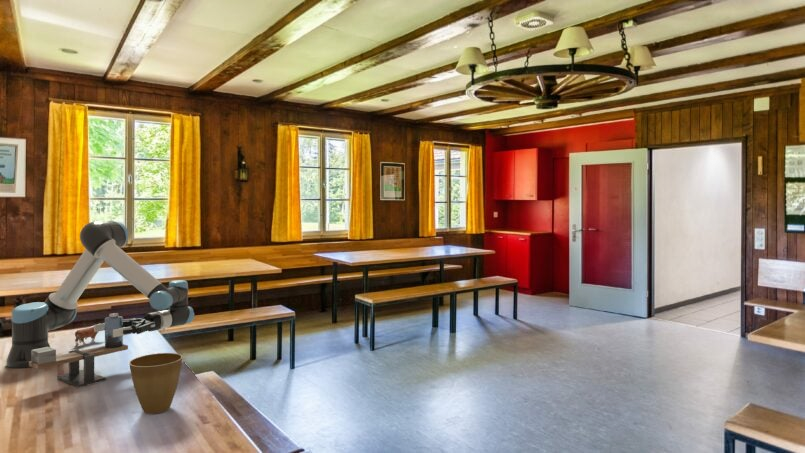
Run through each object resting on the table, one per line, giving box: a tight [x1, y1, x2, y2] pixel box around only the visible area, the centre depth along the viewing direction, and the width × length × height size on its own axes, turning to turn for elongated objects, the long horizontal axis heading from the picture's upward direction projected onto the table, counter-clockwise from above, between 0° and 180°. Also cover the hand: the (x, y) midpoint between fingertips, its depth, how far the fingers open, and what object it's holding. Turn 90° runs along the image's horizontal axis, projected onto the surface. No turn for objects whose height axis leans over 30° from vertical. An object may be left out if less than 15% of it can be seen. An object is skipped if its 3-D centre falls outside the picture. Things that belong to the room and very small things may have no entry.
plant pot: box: [128, 352, 183, 415], centre depth 153 cm, size 15×15×16 cm
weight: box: [104, 312, 124, 348], centre depth 188 cm, size 6×6×12 cm
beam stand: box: [56, 349, 107, 388], centre depth 179 cm, size 16×9×10 cm, turn 58°
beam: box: [29, 343, 129, 371], centre depth 179 cm, size 9×30×6 cm, turn 148°
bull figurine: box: [74, 324, 100, 346], centre depth 228 cm, size 4×13×8 cm, turn 155°
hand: (103, 331), depth 185 cm, fingers open, 13 cm apart
